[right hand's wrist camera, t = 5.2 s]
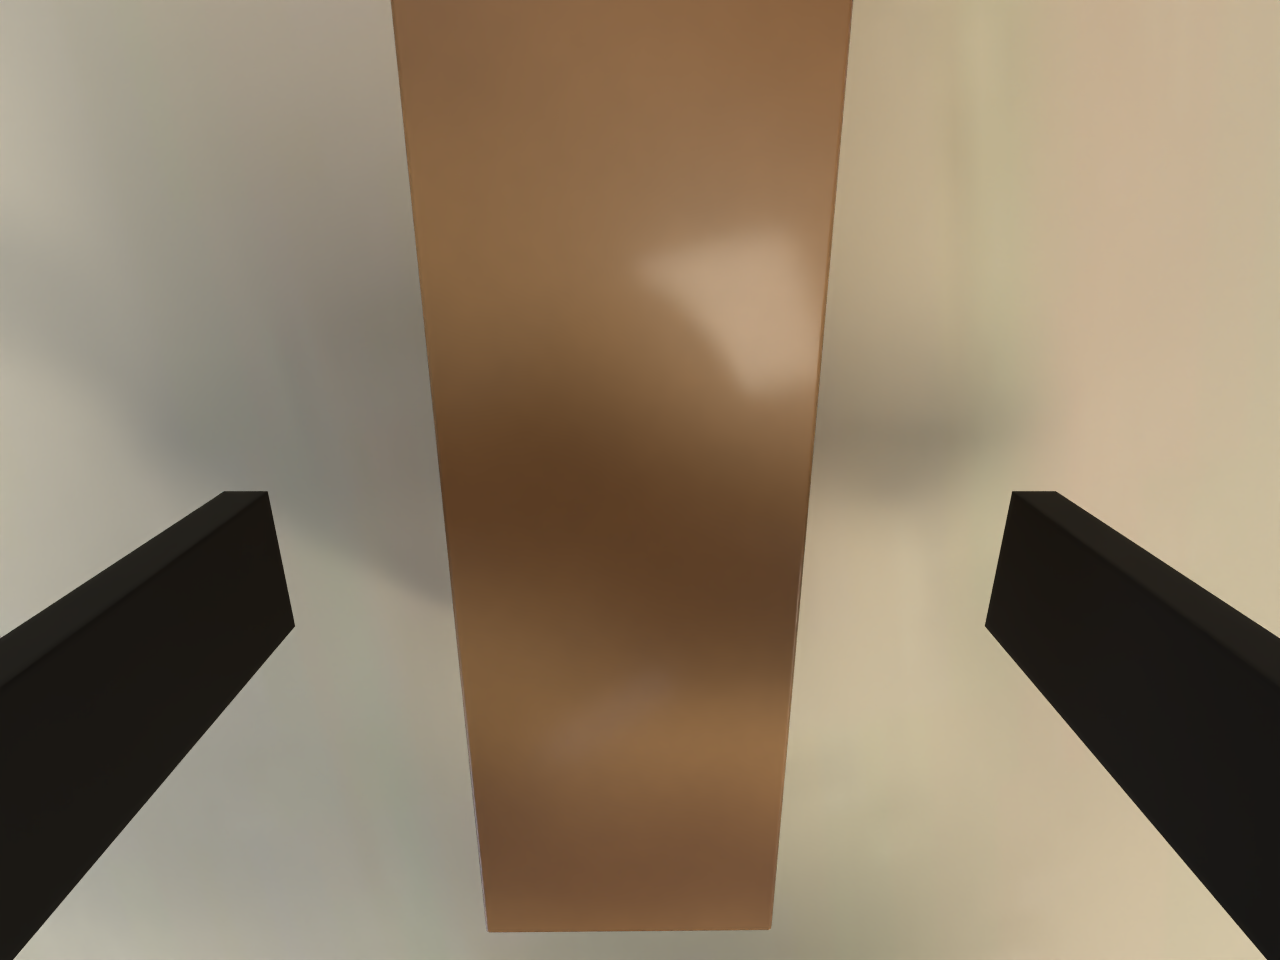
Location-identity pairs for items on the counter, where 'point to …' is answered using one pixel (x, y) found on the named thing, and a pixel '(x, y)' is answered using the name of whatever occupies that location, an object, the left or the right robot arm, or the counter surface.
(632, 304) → the beam
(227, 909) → the counter surface
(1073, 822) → the counter surface
